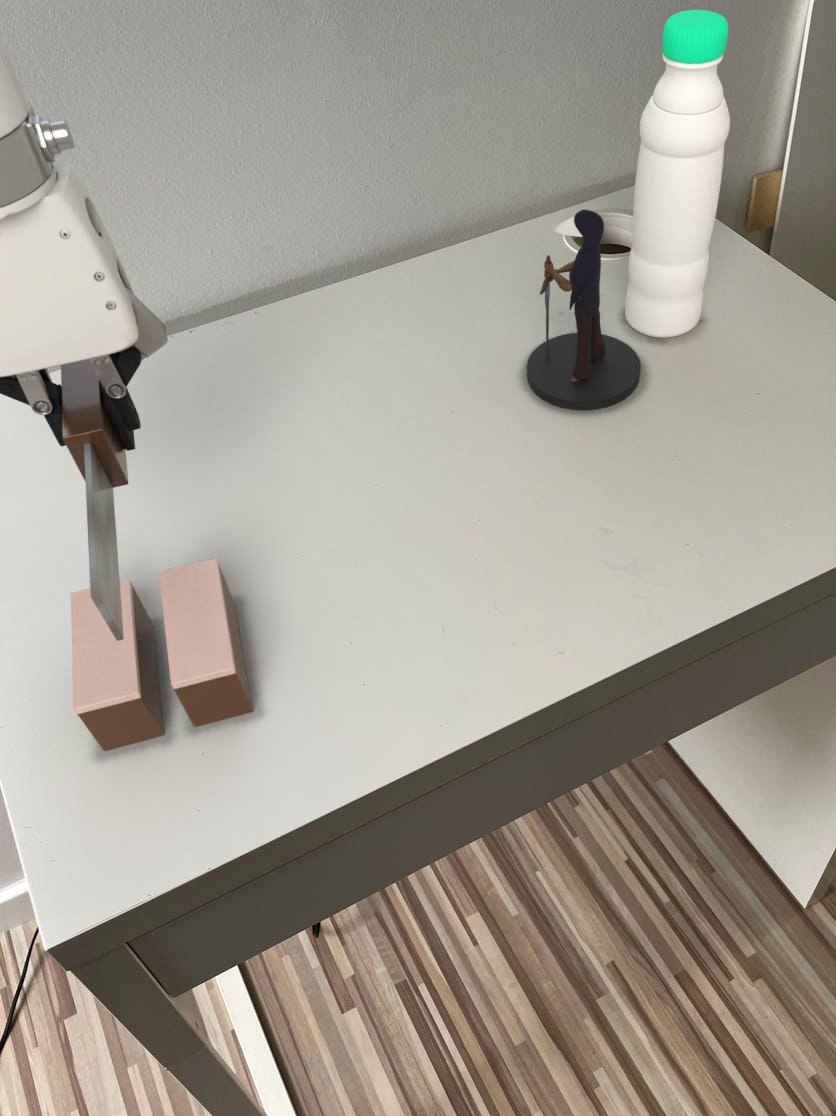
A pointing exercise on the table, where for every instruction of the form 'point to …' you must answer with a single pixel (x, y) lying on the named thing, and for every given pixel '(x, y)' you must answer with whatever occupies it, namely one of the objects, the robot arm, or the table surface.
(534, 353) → the figurine
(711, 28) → the water bottle
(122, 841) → the table surface
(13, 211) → the robot arm
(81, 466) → the knife
